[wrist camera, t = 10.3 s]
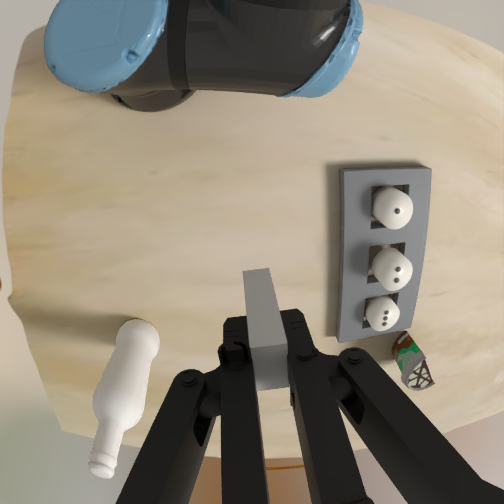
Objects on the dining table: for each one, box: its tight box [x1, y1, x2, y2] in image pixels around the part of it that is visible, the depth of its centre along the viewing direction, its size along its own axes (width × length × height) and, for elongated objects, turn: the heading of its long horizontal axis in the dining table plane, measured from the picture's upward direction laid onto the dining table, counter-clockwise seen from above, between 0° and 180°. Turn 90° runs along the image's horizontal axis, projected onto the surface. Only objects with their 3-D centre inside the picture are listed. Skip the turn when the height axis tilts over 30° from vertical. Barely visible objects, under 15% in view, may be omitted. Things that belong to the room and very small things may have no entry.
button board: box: [336, 167, 432, 343], centre depth 51 cm, size 32×16×2 cm, turn 6°
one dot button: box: [371, 186, 413, 229], centre depth 45 cm, size 6×6×4 cm
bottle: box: [88, 319, 160, 478], centre depth 41 cm, size 8×8×30 cm
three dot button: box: [364, 294, 400, 331], centre depth 54 cm, size 6×6×4 cm
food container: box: [392, 331, 435, 391], centre depth 57 cm, size 12×6×10 cm, turn 35°
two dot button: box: [371, 247, 413, 291], centre depth 48 cm, size 6×6×4 cm
